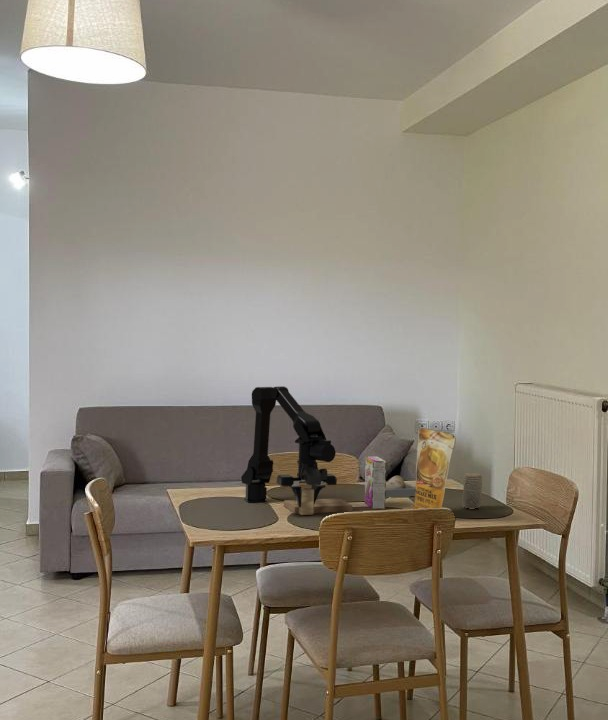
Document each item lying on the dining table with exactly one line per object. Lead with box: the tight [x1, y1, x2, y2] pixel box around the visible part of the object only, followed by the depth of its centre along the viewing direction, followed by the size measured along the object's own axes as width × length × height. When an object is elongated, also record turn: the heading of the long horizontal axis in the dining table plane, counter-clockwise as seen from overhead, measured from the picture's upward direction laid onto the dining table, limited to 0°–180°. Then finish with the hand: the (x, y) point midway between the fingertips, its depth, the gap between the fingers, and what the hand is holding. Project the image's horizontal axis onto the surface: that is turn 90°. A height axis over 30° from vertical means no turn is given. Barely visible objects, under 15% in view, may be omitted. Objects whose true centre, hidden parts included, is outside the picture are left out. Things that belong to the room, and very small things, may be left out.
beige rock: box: [386, 475, 406, 489], centre depth 309 cm, size 8×10×10 cm
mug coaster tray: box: [385, 482, 416, 498], centre depth 311 cm, size 15×14×3 cm
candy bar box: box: [364, 455, 387, 510], centre depth 286 cm, size 11×5×16 cm, turn 9°
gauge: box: [295, 487, 314, 516], centre depth 272 cm, size 4×9×8 cm, turn 19°
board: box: [283, 498, 353, 515], centre depth 279 cm, size 20×12×2 cm, turn 109°
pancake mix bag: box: [413, 427, 457, 510], centre depth 273 cm, size 7×19×28 cm, turn 23°
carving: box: [461, 472, 483, 509], centre depth 287 cm, size 6×8×12 cm
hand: (306, 506), depth 269 cm, fingers closed on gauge, 4 cm apart
